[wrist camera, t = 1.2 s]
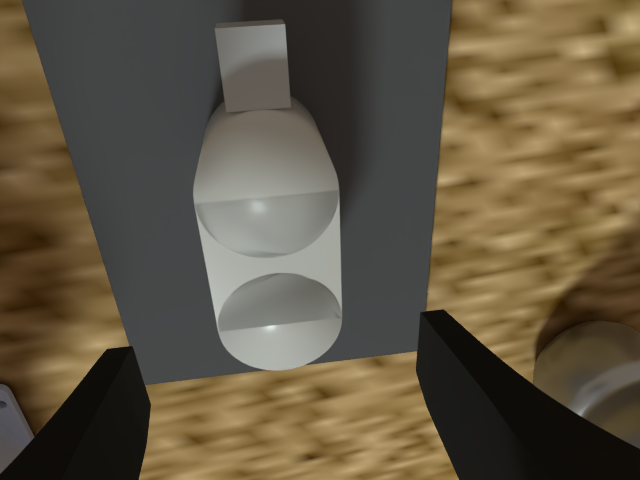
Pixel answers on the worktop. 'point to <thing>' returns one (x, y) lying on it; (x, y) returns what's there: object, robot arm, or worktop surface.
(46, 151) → the worktop surface
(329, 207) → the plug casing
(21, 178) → the worktop surface
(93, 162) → the rubber mat
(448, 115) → the worktop surface
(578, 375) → the plastic bottle
